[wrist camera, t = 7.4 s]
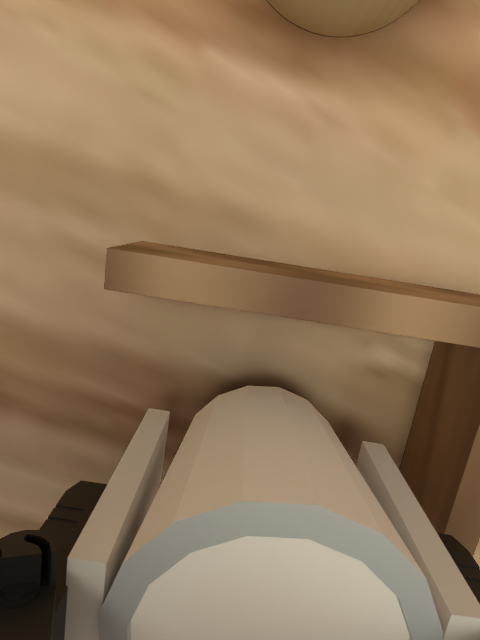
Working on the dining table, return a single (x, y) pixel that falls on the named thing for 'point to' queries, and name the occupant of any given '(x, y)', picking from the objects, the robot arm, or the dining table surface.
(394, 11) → the cream rounded cylinder
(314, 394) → the dining table surface
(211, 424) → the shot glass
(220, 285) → the bay
